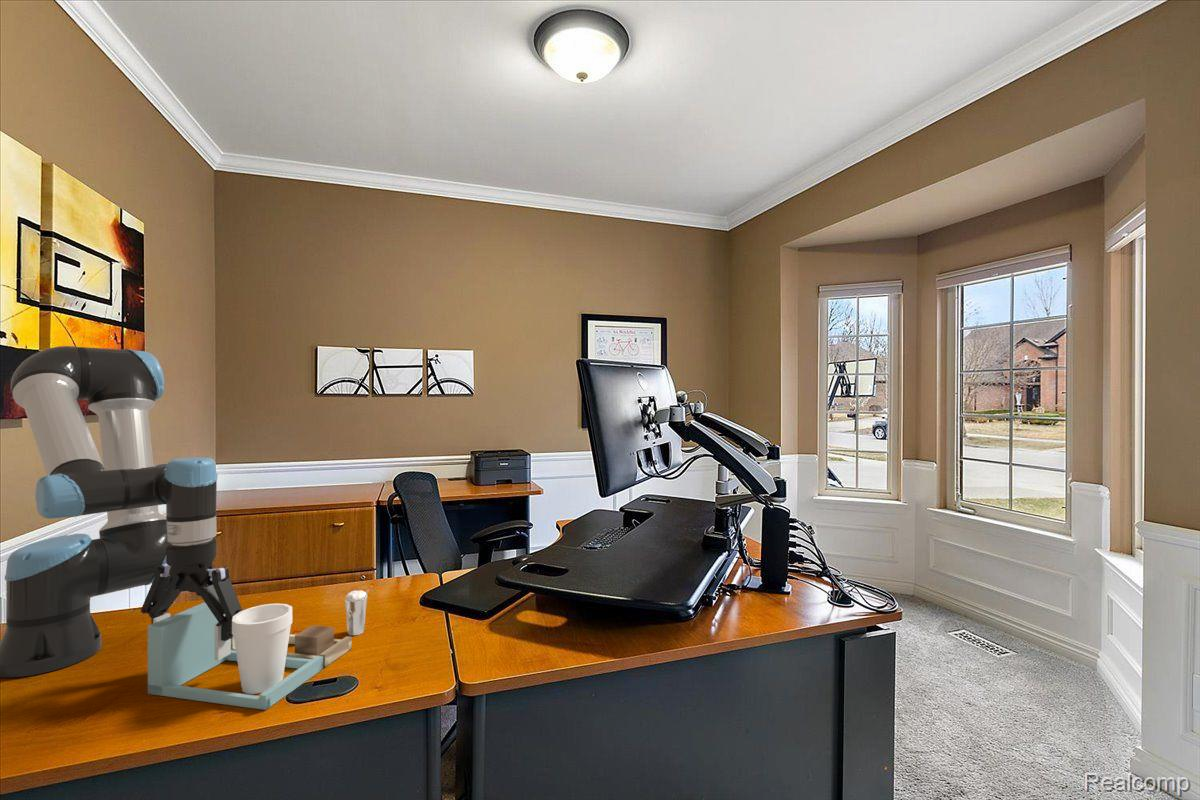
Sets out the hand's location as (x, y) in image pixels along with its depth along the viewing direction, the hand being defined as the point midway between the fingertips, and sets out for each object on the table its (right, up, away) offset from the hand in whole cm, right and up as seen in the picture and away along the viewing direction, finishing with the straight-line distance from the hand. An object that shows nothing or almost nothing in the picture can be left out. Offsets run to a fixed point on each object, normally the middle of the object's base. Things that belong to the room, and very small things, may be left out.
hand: (191, 653), depth 101 cm
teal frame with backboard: (+10, -4, -2) cm, 11 cm away
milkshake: (+23, -4, +19) cm, 30 cm away
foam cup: (+15, -5, -3) cm, 16 cm away
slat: (+19, -4, +8) cm, 21 cm away
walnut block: (+19, -4, +8) cm, 21 cm away
